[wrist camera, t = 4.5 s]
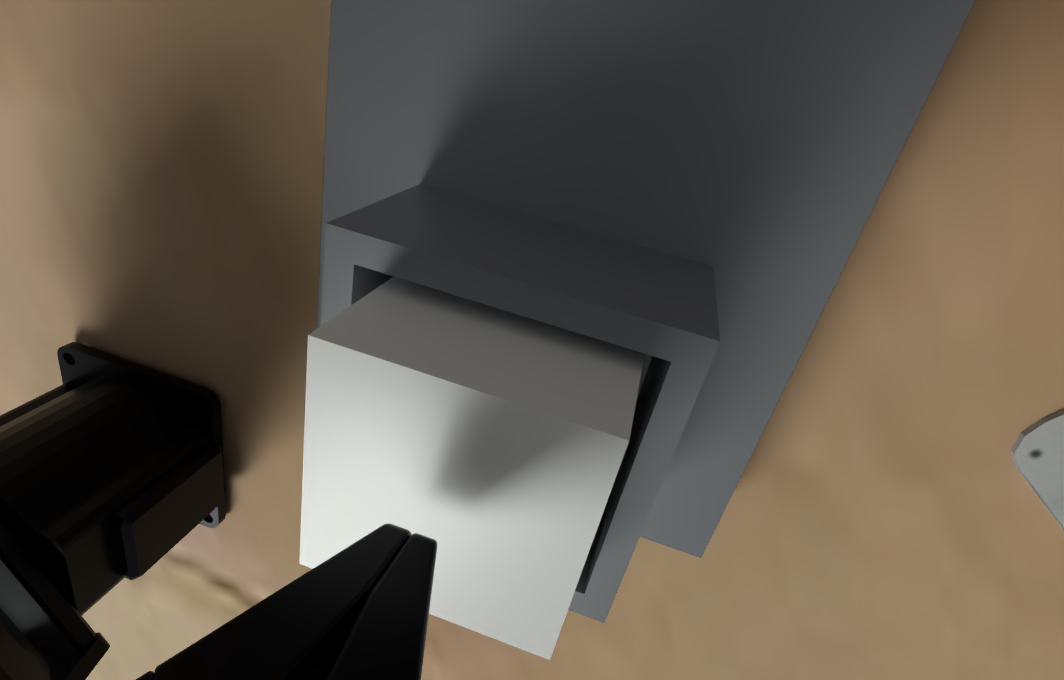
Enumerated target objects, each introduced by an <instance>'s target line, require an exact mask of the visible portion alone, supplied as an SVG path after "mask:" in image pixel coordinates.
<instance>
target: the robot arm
mask: <svg viewBox="0 0 1064 680" xmlns="http://www.w3.org/2000/svg"><path fill="white" fill-rule="evenodd" d="M58 360H59V365H60V370H61V375H62V380H63V385H61V386H59V387H57V388H55V389H53V390H51V391H49V392H47V393H45V394H43V395H41V396H39V397H37V398H35V399H33V400H31V401H29V402H27V403H25V404H23V405H21V406H19V407H17V408H15V409H13V410H11V411H9V412H7V413H5V414H3V415H1V416H0V680H85V679H86V678H87V677H88V675H89V674H90V673H91V671H92V670H93V669H94V667H95V666H96V665H97V663H98V662H99V661H100V659H101V658H102V657H103V656H104V654H105V653H106V652H107V650H108V649H109V647H110V645H109V643H108V642H107V641H106V640H105V638H104V637H103V636H102V635H101V633H95V632H94V631H93V630H92V628H91V627H90V626H89V625H88V623H87V622H86V621H85V620H84V618H83V617H82V615H83V614H84V613H85V612H86V611H87V610H88V609H90V608H91V607H92V606H93V605H94V604H95V603H96V602H97V601H99V600H100V599H101V598H102V597H103V596H104V595H105V594H106V593H108V592H109V591H110V590H111V589H112V588H113V587H114V586H115V585H117V584H118V583H119V582H120V581H121V580H122V579H123V578H124V577H125V578H127V579H130V580H134V579H136V578H138V577H140V576H142V575H143V574H144V573H145V572H146V571H147V570H148V569H150V568H151V567H152V566H153V565H154V564H155V563H156V562H157V561H158V560H159V559H161V558H162V557H163V556H164V555H165V554H166V553H167V552H168V551H169V550H170V549H171V548H173V547H174V546H175V545H176V544H177V543H178V542H179V541H180V540H181V539H182V538H184V537H185V536H186V535H187V534H188V533H189V532H190V531H191V530H192V529H193V528H195V527H196V526H197V525H198V524H202V525H204V526H207V527H210V528H215V527H217V526H218V525H219V524H220V523H221V522H222V521H223V520H224V519H225V516H226V512H225V490H224V467H223V445H222V423H221V404H220V400H219V398H218V396H217V395H216V394H215V393H214V392H213V391H212V390H210V389H208V388H205V387H202V386H199V385H197V384H194V383H191V382H188V381H185V380H182V379H179V378H177V377H174V376H171V375H168V374H165V373H162V372H159V371H157V370H154V369H151V368H148V367H145V366H142V365H139V364H137V363H134V362H131V361H128V360H125V359H122V358H119V357H117V356H114V355H111V354H108V353H105V352H102V351H99V350H97V349H94V348H91V347H88V346H85V345H82V344H79V343H76V342H72V343H69V344H67V345H65V346H62V347H60V348H59V349H58ZM436 553H437V541H436V540H434V539H432V538H429V537H426V536H423V535H421V534H418V533H414V534H412V535H411V532H410V531H409V530H407V529H404V528H401V527H399V526H396V525H393V524H389V523H388V524H384V525H382V526H380V527H379V528H377V529H376V530H374V531H372V532H371V533H369V534H368V535H366V536H364V537H363V538H361V539H360V540H358V541H356V542H355V543H353V544H352V545H350V546H349V547H347V548H345V549H344V550H342V551H341V552H339V553H337V554H336V555H334V556H333V557H331V558H329V559H328V560H326V561H325V562H323V563H321V564H320V565H318V566H317V567H315V568H313V569H312V570H310V571H309V572H307V573H305V574H304V575H302V576H301V577H299V578H298V579H296V580H294V581H293V582H291V583H290V584H288V585H286V586H285V587H283V588H282V589H280V590H278V591H277V592H275V593H274V594H272V595H270V596H269V597H267V598H266V599H264V600H262V601H261V602H259V603H258V604H256V605H254V606H253V607H251V608H250V609H248V610H247V611H245V612H243V613H242V614H240V615H239V616H237V617H235V618H234V619H232V620H231V621H229V622H227V623H226V624H224V625H223V626H221V627H219V628H218V629H216V630H215V631H213V632H211V633H210V634H208V635H207V636H205V637H203V638H202V639H200V640H199V641H197V642H196V643H194V644H192V645H191V646H189V647H188V648H186V649H184V650H183V651H181V652H180V653H178V654H176V655H175V656H173V657H172V658H170V659H168V660H167V661H165V662H164V663H162V664H160V665H159V666H157V667H156V669H155V672H153V671H149V672H147V673H146V674H144V675H142V676H141V677H139V678H138V679H136V680H421V672H422V664H423V657H424V649H425V641H426V633H427V625H428V617H429V609H430V601H431V593H432V585H433V577H434V569H435V561H436Z"/></svg>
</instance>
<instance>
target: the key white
mask: <svg viewBox="0 0 1064 680" xmlns="http://www.w3.org/2000/svg"><path fill="white" fill-rule="evenodd" d="M644 355H645V354H644V353H641V352H638V351H634V350H631V349H628V348H625V347H621V346H618V345H615V344H612V343H608V342H605V341H602V340H599V339H595V338H592V337H589V336H586V335H582V334H579V333H576V332H573V331H569V330H566V329H563V328H560V327H556V326H553V325H550V324H547V323H543V322H540V321H537V320H534V319H530V318H527V317H524V316H521V315H517V314H514V313H511V312H508V311H504V310H501V309H498V308H495V307H491V306H488V305H485V304H482V303H478V302H475V301H472V300H469V299H465V298H462V297H459V296H456V295H452V294H449V293H446V292H443V291H439V290H436V289H433V288H430V287H426V286H423V285H420V284H417V283H413V282H410V281H407V280H404V279H400V278H397V277H392V278H391V279H389V280H388V281H386V282H385V283H383V284H382V285H380V286H379V287H378V288H376V289H375V290H373V291H372V292H370V293H369V294H367V295H366V296H364V297H363V298H361V299H360V300H358V301H357V302H356V303H354V304H353V305H351V306H350V307H348V308H347V309H345V310H344V311H342V312H341V313H339V314H338V315H337V316H335V317H334V318H332V319H331V320H329V321H328V322H326V323H325V324H323V325H322V326H320V327H319V328H317V329H316V330H315V331H313V332H312V333H310V334H309V335H308V347H307V374H306V401H305V428H304V456H303V483H302V510H301V537H300V564H302V565H304V566H307V567H310V568H312V569H313V568H315V567H317V566H318V565H320V564H321V563H323V562H325V561H326V560H328V559H329V558H331V557H333V556H334V555H336V554H337V553H339V552H341V551H342V550H344V549H345V548H347V547H349V546H350V545H352V544H353V543H355V542H356V541H358V540H360V539H361V538H363V537H364V536H366V535H368V534H369V533H371V532H372V531H374V530H376V529H377V528H379V527H380V526H382V525H384V524H388V523H389V524H393V525H396V526H399V527H401V528H404V529H407V530H409V531H410V532H411V535H412V534H414V533H418V534H421V535H423V536H426V537H429V538H432V539H434V540H436V541H437V553H436V561H435V569H434V577H433V585H432V593H431V601H430V609H429V614H432V615H434V616H437V617H439V618H442V619H445V620H447V621H450V622H452V623H455V624H458V625H460V626H463V627H465V628H468V629H470V630H473V631H476V632H478V633H481V634H483V635H486V636H489V637H491V638H494V639H496V640H499V641H502V642H504V643H507V644H509V645H512V646H515V647H517V648H520V649H522V650H525V651H528V652H530V653H533V654H535V655H538V656H541V657H543V658H546V659H548V660H550V658H551V655H552V653H553V650H554V647H555V644H556V642H557V639H558V636H559V633H560V631H561V628H562V625H563V622H564V620H565V617H566V614H567V611H568V608H569V606H570V603H571V600H572V597H573V595H574V592H575V589H576V586H577V584H578V581H579V578H580V575H581V573H582V570H583V567H584V564H585V562H586V559H587V556H588V553H589V551H590V548H591V545H592V542H593V540H594V537H595V534H596V531H597V528H598V526H599V523H600V520H601V517H602V515H603V512H604V509H605V506H606V504H607V501H608V498H609V495H610V493H611V490H612V487H613V484H614V482H615V479H616V476H617V473H618V471H619V468H620V465H621V462H622V460H623V457H624V454H625V451H626V448H627V446H628V443H629V440H630V434H631V428H632V423H633V417H634V412H635V406H636V400H637V395H638V389H639V383H640V378H641V372H642V367H643V361H644Z"/></svg>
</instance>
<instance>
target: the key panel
mask: <svg viewBox="0 0 1064 680" xmlns="http://www.w3.org/2000/svg"><path fill="white" fill-rule="evenodd" d="M974 2H975V0H331V22H330V45H329V67H328V90H327V112H326V135H325V157H324V179H323V202H322V224H321V247H320V269H319V292H318V314H317V328H319V327H320V326H322V325H323V324H325V323H326V322H328V321H329V320H331V319H332V318H334V317H335V316H337V315H338V314H339V313H341V312H342V311H344V310H345V309H347V308H348V307H350V306H351V305H353V304H354V303H356V302H357V301H358V300H360V299H361V298H363V297H364V296H366V295H367V294H369V293H370V292H372V291H373V290H375V289H376V288H378V287H379V286H380V285H382V284H383V283H385V282H386V281H388V280H389V279H391V278H392V277H397V278H400V279H404V280H407V281H410V282H413V283H417V284H420V285H423V286H426V287H430V288H433V289H436V290H439V291H443V292H446V293H449V294H452V295H456V296H459V297H462V298H465V299H469V300H472V301H475V302H478V303H482V304H485V305H488V306H491V307H495V308H498V309H501V310H504V311H508V312H511V313H514V314H517V315H521V316H524V317H527V318H530V319H534V320H537V321H540V322H543V323H547V324H550V325H553V326H556V327H560V328H563V329H566V330H569V331H573V332H576V333H579V334H582V335H586V336H589V337H592V338H595V339H599V340H602V341H605V342H608V343H612V344H615V345H618V346H621V347H625V348H628V349H631V350H634V351H638V352H641V353H644V354H645V355H644V361H643V367H642V372H641V378H640V383H639V389H638V395H637V400H636V406H635V412H634V417H633V423H632V428H631V434H630V440H629V443H628V446H627V448H626V451H625V454H624V457H623V460H622V462H621V465H620V468H619V471H618V473H617V476H616V479H615V482H614V484H613V487H612V490H611V493H610V495H609V498H608V501H607V504H606V506H605V509H604V512H603V515H602V517H601V520H600V523H599V526H598V528H597V531H596V534H595V537H594V540H593V542H592V545H591V548H590V551H589V553H588V556H587V559H586V562H585V564H584V567H583V570H582V573H581V575H580V578H579V581H578V584H577V586H576V589H575V592H574V595H573V597H572V600H571V603H570V606H569V608H568V609H569V610H571V611H574V612H577V613H579V614H582V615H585V616H587V617H590V618H593V619H595V620H598V621H601V622H605V619H606V617H607V615H608V612H609V610H610V607H611V605H612V603H613V600H614V598H615V595H616V593H617V590H618V588H619V586H620V583H621V581H622V578H623V576H624V573H625V571H626V569H627V566H628V564H629V561H630V559H631V556H632V554H633V552H634V549H635V547H636V544H637V542H638V539H639V537H643V538H645V539H648V540H651V541H654V542H657V543H660V544H663V545H666V546H668V547H671V548H674V549H677V550H680V551H683V552H686V553H688V554H691V555H694V556H697V557H700V558H701V557H702V555H703V553H704V551H705V549H706V547H707V545H708V543H709V541H710V539H711V537H712V535H713V533H714V531H715V529H716V527H717V525H718V523H719V521H720V519H721V517H722V514H723V512H724V510H725V508H726V506H727V504H728V502H729V500H730V498H731V496H732V494H733V492H734V490H735V488H736V486H737V484H738V482H739V480H740V478H741V476H742V474H743V472H744V470H745V468H746V466H747V464H748V462H749V460H750V458H751V456H752V454H753V451H754V449H755V447H756V445H757V443H758V441H759V439H760V437H761V435H762V433H763V431H764V429H765V427H766V425H767V423H768V421H769V419H770V417H771V415H772V413H773V411H774V409H775V407H776V405H777V403H778V401H779V399H780V397H781V395H782V393H783V391H784V388H785V386H786V384H787V382H788V380H789V378H790V376H791V374H792V372H793V370H794V368H795V366H796V364H797V362H798V360H799V358H800V356H801V354H802V352H803V350H804V348H805V346H806V344H807V342H808V340H809V338H810V336H811V334H812V332H813V330H814V328H815V325H816V323H817V321H818V319H819V317H820V315H821V313H822V311H823V309H824V307H825V305H826V303H827V301H828V299H829V297H830V295H831V293H832V291H833V289H834V287H835V285H836V283H837V281H838V279H839V277H840V275H841V273H842V271H843V269H844V267H845V265H846V262H847V260H848V258H849V256H850V254H851V252H852V250H853V248H854V246H855V244H856V242H857V240H858V238H859V236H860V234H861V232H862V230H863V228H864V226H865V224H866V222H867V220H868V218H869V216H870V214H871V212H872V210H873V208H874V206H875V204H876V202H877V200H878V197H879V195H880V193H881V191H882V189H883V187H884V185H885V183H886V181H887V179H888V177H889V175H890V173H891V171H892V169H893V167H894V165H895V163H896V161H897V159H898V157H899V155H900V153H901V151H902V149H903V147H904V145H905V143H906V141H907V139H908V137H909V134H910V132H911V130H912V128H913V126H914V124H915V122H916V120H917V118H918V116H919V114H920V112H921V110H922V108H923V106H924V104H925V102H926V100H927V98H928V96H929V94H930V92H931V90H932V88H933V86H934V84H935V82H936V80H937V78H938V76H939V74H940V71H941V69H942V67H943V65H944V63H945V61H946V59H947V57H948V55H949V53H950V51H951V49H952V47H953V45H954V43H955V41H956V39H957V37H958V35H959V33H960V31H961V29H962V27H963V25H964V23H965V21H966V19H967V17H968V15H969V13H970V11H971V8H972V6H973V4H974Z"/></svg>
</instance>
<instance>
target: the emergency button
mask: <svg viewBox="0 0 1064 680" xmlns="http://www.w3.org/2000/svg"><path fill="white" fill-rule="evenodd" d="M1011 453H1012V457H1013V461H1014V465H1015V467H1016V468H1017V469H1018V471H1019V472H1020V473H1021V475H1022V476H1023V477H1024V479H1025V480H1026V481H1027V483H1028V484H1029V485H1030V487H1031V488H1032V489H1033V490H1034V492H1035V493H1036V494H1037V496H1038V497H1039V498H1040V500H1041V501H1042V502H1043V504H1044V505H1045V506H1046V508H1047V509H1048V510H1049V512H1050V513H1051V514H1052V516H1053V517H1054V518H1055V519H1056V521H1057V522H1058V523H1059V525H1060V526H1061V527H1062V529H1063V530H1064V409H1063V410H1061V411H1059V412H1056V413H1054V414H1052V415H1049V416H1047V417H1045V418H1042V419H1041V420H1039V421H1038V422H1036V423H1035V424H1033V425H1032V426H1030V427H1029V428H1027V429H1026V430H1024V431H1023V432H1021V433H1020V435H1019V437H1018V439H1017V440H1016V442H1015V444H1014V445H1013V447H1012V449H1011Z"/></svg>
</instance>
